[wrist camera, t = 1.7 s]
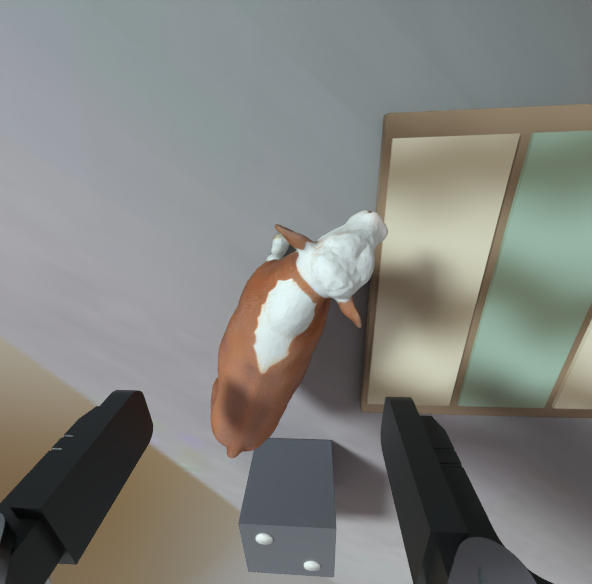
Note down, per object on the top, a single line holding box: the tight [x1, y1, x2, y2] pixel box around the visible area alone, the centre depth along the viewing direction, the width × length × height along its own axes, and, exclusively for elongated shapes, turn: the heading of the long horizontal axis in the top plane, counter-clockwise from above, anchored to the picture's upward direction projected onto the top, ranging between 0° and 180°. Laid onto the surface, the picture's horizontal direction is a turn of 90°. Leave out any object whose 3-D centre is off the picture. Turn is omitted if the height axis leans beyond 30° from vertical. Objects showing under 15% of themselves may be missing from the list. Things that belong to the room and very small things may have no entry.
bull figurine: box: [211, 210, 388, 458], centre depth 14 cm, size 4×13×8 cm, turn 155°
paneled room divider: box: [360, 104, 592, 418], centre depth 16 cm, size 18×18×1 cm
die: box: [239, 438, 336, 577], centre depth 21 cm, size 6×6×6 cm
